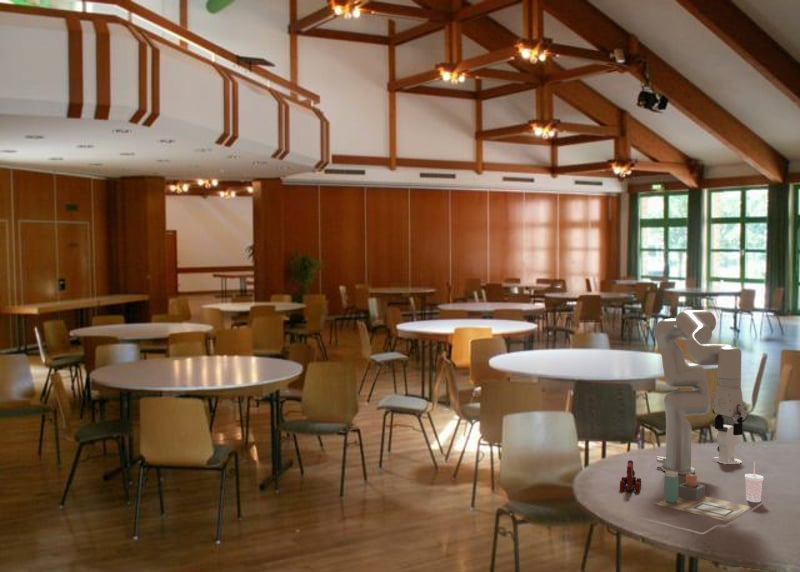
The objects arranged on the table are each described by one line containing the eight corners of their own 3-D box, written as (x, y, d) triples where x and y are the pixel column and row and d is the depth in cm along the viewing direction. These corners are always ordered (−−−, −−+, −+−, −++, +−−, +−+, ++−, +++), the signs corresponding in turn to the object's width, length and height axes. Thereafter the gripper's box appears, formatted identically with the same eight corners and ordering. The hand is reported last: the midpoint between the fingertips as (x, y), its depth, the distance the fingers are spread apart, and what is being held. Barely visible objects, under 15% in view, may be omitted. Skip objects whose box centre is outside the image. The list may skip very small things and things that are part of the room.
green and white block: (664, 502, 280) (664, 472, 279) (668, 500, 282) (669, 470, 282) (673, 505, 277) (674, 474, 277) (678, 502, 280) (678, 472, 279)
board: (654, 505, 279) (654, 503, 279) (681, 492, 293) (681, 490, 293) (727, 523, 261) (727, 520, 261) (751, 508, 276) (751, 506, 276)
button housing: (677, 496, 286) (677, 485, 286) (685, 492, 291) (686, 481, 291) (696, 501, 281) (696, 489, 281) (705, 496, 286) (705, 485, 286)
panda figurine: (720, 455, 344) (721, 420, 343) (747, 461, 335) (748, 425, 335) (707, 460, 336) (708, 424, 335) (734, 466, 327) (735, 429, 326)
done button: (683, 489, 286) (684, 475, 286) (688, 487, 289) (688, 473, 288) (693, 491, 284) (694, 477, 283) (698, 489, 286) (698, 475, 286)
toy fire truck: (641, 486, 301) (642, 458, 300) (639, 496, 289) (639, 467, 288) (622, 484, 303) (622, 457, 302) (619, 494, 291) (619, 465, 291)
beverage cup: (754, 505, 279) (755, 465, 278) (739, 500, 284) (740, 460, 284) (766, 502, 282) (768, 462, 281) (752, 497, 287) (753, 458, 286)
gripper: (704, 379, 289) (703, 427, 290) (736, 387, 272) (735, 438, 273) (722, 378, 291) (721, 426, 292) (755, 386, 274) (754, 436, 275)
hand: (728, 431), depth 282 cm, fingers open, 9 cm apart
